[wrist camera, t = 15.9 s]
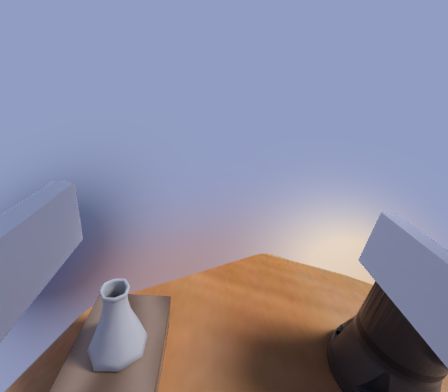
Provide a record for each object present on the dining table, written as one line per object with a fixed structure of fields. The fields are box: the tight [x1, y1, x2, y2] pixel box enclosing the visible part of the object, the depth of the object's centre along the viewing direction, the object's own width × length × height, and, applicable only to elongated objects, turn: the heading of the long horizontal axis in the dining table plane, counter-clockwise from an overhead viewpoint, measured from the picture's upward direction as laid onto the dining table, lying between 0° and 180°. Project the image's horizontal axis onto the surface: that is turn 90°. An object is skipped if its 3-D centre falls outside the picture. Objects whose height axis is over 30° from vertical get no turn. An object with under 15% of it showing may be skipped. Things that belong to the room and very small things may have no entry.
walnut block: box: [49, 294, 171, 392], centre depth 33 cm, size 11×16×7 cm
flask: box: [87, 278, 148, 372], centre depth 29 cm, size 7×7×10 cm
